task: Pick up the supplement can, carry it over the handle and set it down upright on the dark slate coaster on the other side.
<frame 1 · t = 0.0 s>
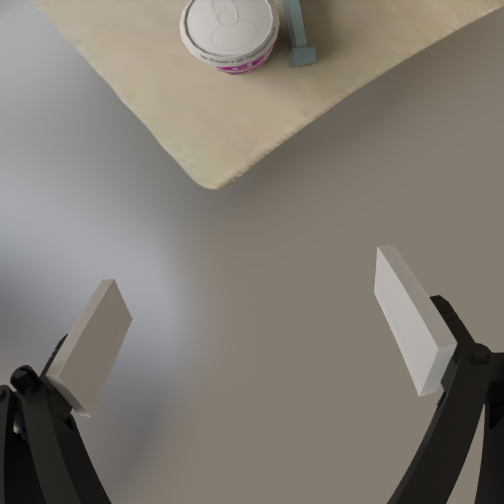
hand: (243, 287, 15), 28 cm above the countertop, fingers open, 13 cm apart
supplement can: (238, 45, 32), on the countertop
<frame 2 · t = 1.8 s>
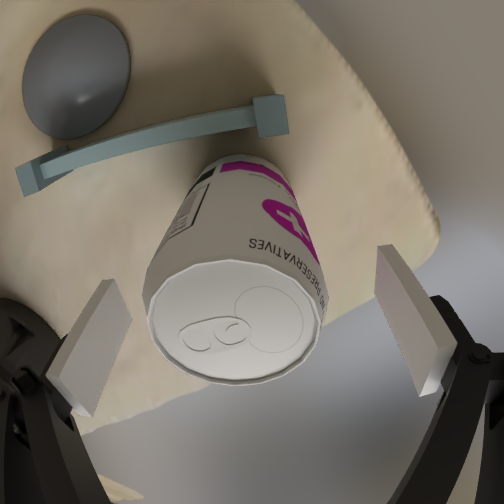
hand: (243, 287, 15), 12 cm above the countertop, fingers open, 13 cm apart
supplement can: (242, 200, 25), on the countertop
coaster: (72, 75, 19), on the countertop
handle: (151, 132, 22), on the countertop
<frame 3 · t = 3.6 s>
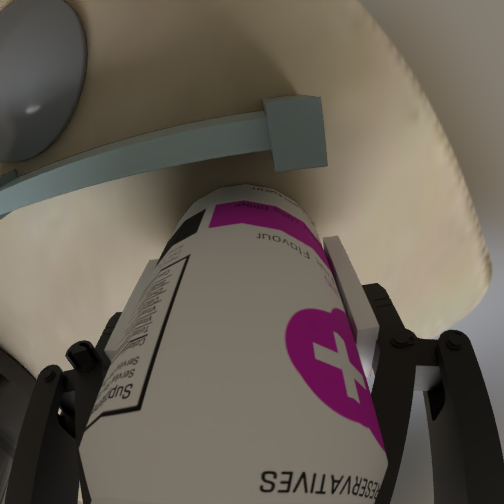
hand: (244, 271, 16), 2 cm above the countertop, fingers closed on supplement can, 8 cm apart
supplement can: (246, 247, 18), on the countertop, touching gripper
coaster: (17, 77, 12), on the countertop
handle: (116, 152, 15), on the countertop
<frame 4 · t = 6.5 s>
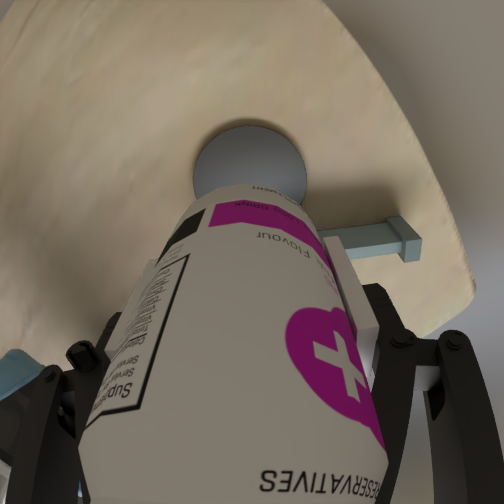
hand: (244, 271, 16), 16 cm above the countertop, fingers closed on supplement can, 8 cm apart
supplement can: (246, 247, 18), point 14 cm above the countertop, touching gripper
coaster: (249, 180, 30), on the countertop
handle: (315, 236, 33), on the countertop
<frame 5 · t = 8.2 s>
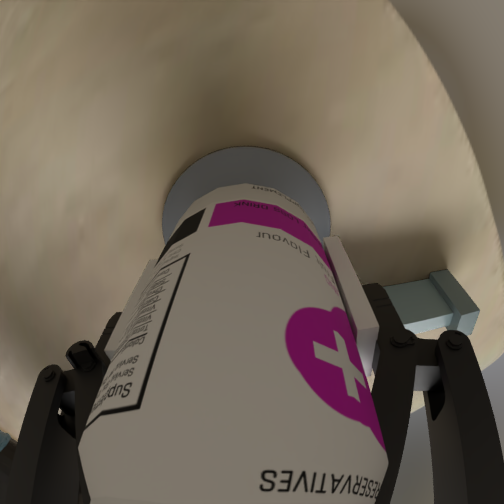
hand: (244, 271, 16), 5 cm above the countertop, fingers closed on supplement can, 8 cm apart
supplement can: (246, 247, 18), point 3 cm above the countertop, touching gripper
coaster: (245, 228, 21), on the countertop
handle: (337, 300, 24), on the countertop
when the fingers open (4 cm above the countertop, at t = 9.4 s): supplement can stays where it is, resting on coaster.
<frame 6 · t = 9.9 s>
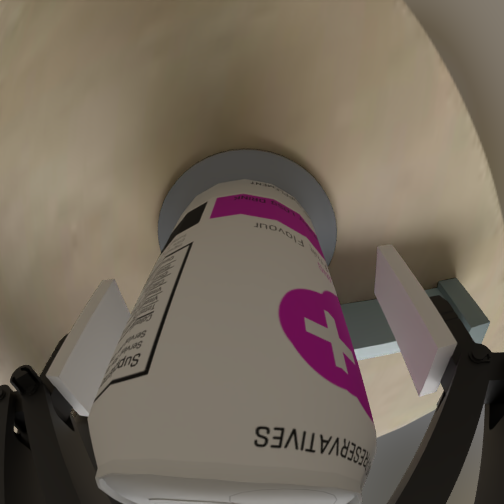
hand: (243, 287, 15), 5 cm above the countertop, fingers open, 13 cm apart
supplement can: (245, 240, 19), resting on coaster
coaster: (246, 236, 19), on the countertop
handle: (342, 310, 22), on the countertop
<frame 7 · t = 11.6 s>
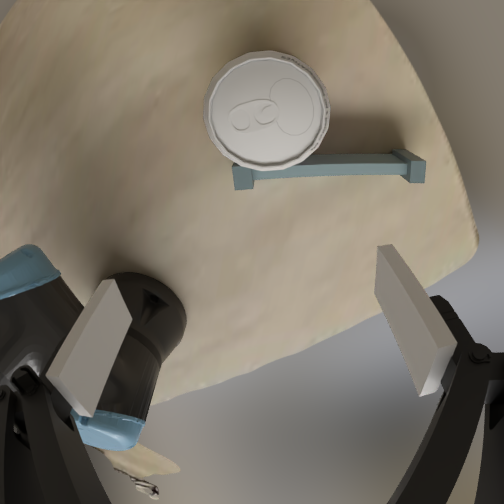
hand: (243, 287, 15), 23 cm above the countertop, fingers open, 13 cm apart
supplement can: (267, 101, 30), resting on coaster
handle: (326, 159, 33), on the countertop
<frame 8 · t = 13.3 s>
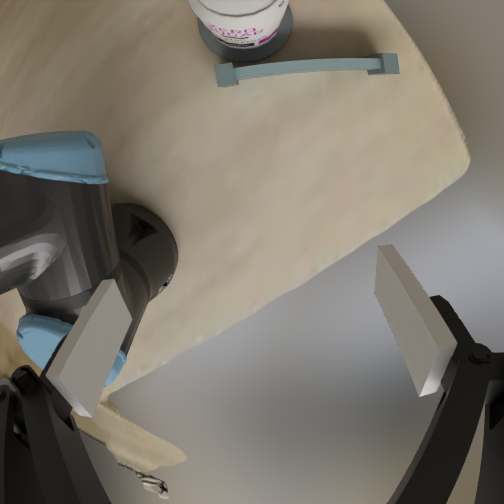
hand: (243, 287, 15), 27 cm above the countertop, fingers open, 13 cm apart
supplement can: (244, 20, 29), resting on coaster
coaster: (245, 21, 29), on the countertop
handle: (304, 67, 32), on the countertop
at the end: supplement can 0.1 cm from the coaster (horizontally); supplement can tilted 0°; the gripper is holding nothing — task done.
